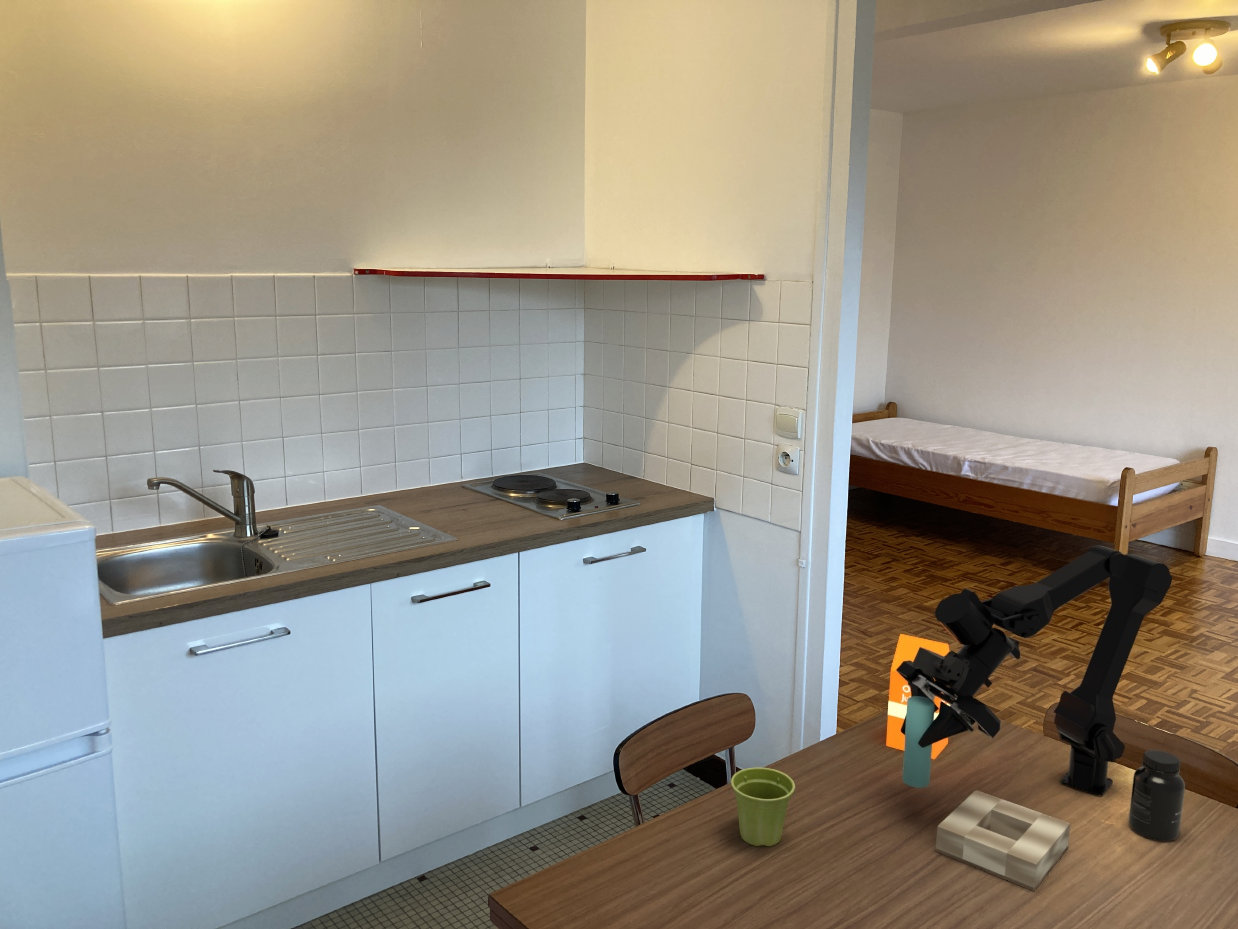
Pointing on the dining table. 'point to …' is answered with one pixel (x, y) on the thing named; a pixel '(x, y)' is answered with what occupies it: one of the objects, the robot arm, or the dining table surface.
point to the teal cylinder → (914, 755)
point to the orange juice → (908, 690)
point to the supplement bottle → (1157, 797)
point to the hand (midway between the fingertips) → (911, 739)
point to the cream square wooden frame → (1003, 839)
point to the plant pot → (762, 803)
